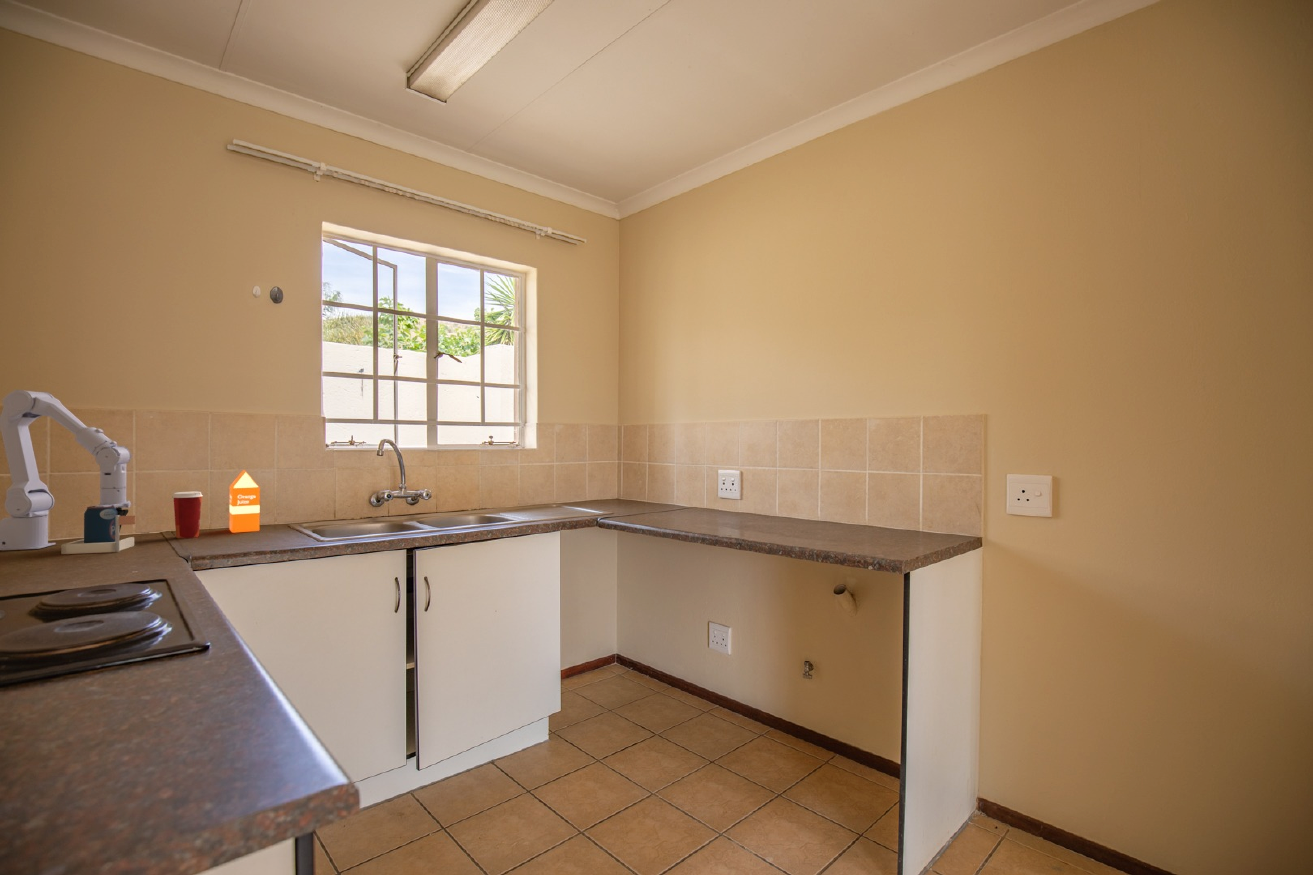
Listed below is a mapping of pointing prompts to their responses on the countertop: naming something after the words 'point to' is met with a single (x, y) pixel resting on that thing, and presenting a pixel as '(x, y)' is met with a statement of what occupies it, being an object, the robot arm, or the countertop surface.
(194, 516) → the paper cup
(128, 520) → the shallow cream tray
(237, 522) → the orange juice
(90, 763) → the countertop surface
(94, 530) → the soda can
